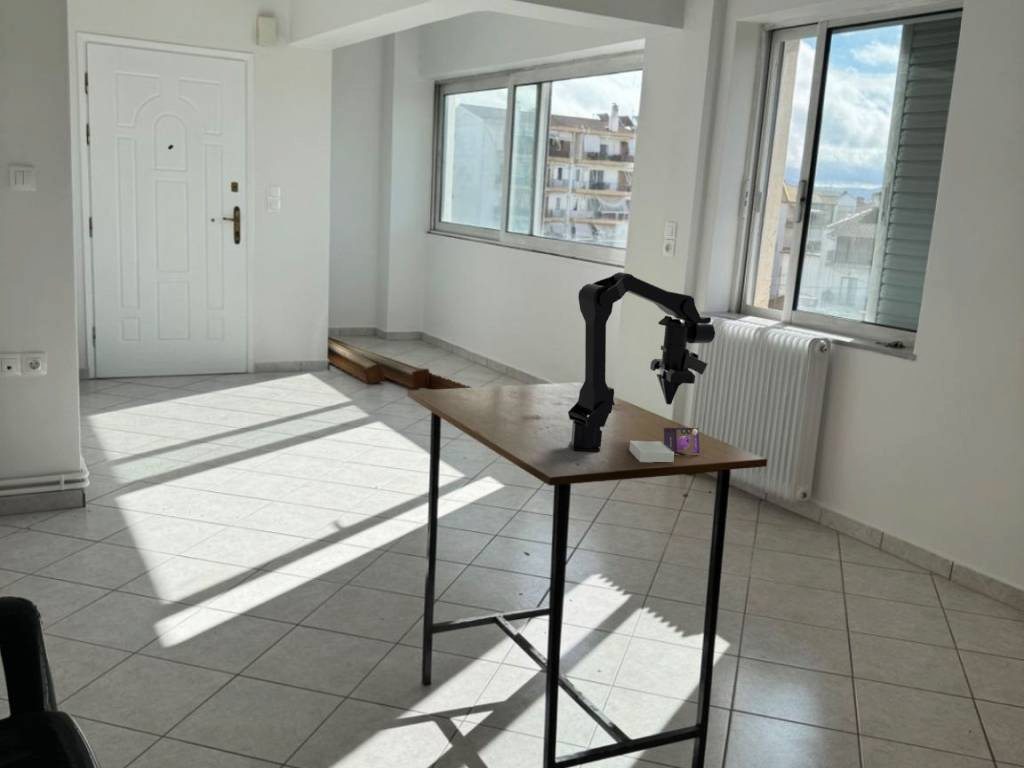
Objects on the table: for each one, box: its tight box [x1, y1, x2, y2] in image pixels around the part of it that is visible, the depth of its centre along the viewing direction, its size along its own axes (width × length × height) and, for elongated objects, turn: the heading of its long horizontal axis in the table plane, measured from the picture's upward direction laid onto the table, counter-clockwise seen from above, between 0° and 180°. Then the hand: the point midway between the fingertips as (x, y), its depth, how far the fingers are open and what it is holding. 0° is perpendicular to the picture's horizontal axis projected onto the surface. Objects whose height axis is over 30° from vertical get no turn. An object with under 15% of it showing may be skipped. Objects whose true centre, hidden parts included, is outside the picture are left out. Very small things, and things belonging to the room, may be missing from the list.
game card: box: [663, 427, 700, 454], centre depth 232 cm, size 7×5×9 cm
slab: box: [628, 440, 675, 463], centre depth 226 cm, size 8×10×3 cm
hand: (668, 404), depth 240 cm, fingers closed
